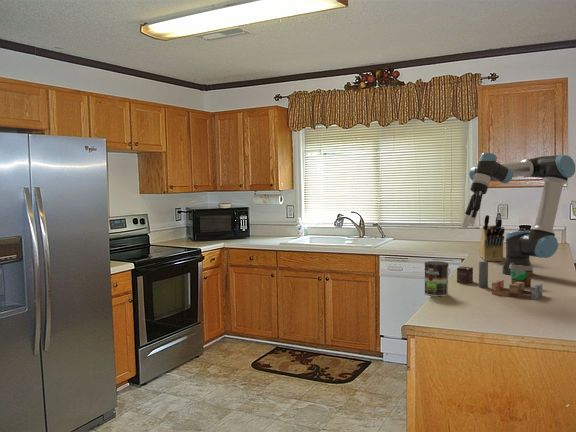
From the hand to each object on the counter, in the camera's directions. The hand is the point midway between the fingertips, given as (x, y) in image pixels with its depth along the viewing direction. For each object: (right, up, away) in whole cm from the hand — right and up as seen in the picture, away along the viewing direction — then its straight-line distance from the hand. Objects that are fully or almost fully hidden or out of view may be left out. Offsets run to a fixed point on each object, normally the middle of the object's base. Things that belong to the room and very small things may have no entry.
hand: (467, 226), depth 248 cm
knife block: (+44, -23, +84) cm, 98 cm away
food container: (+24, -29, +1) cm, 38 cm away
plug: (+7, -29, -2) cm, 30 cm away
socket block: (+15, -30, -20) cm, 39 cm away
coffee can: (-19, -30, -16) cm, 39 cm away
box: (+3, -28, +11) cm, 31 cm away
